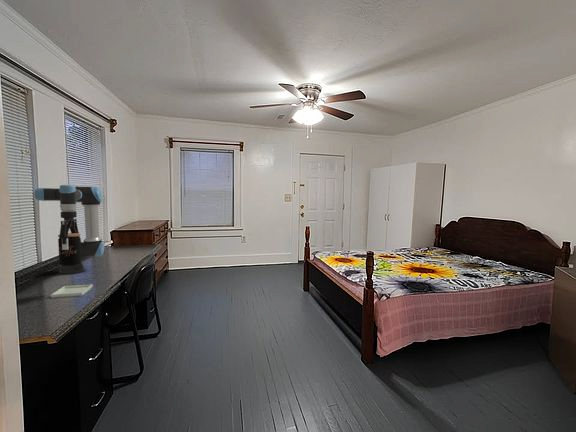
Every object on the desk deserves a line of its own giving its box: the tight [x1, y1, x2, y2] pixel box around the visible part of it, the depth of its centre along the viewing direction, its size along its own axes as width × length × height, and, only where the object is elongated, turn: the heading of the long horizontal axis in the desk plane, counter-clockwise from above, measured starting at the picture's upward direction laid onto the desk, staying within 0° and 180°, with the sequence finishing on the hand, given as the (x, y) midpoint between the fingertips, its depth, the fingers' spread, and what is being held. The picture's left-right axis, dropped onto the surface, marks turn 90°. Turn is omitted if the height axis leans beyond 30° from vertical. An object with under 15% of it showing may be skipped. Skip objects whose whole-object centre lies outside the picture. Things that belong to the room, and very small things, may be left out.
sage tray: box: [50, 284, 94, 299], centre depth 170 cm, size 16×16×2 cm
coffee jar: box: [57, 232, 83, 267], centre depth 168 cm, size 11×11×18 cm
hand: (70, 247), depth 168 cm, fingers closed on coffee jar, 11 cm apart
